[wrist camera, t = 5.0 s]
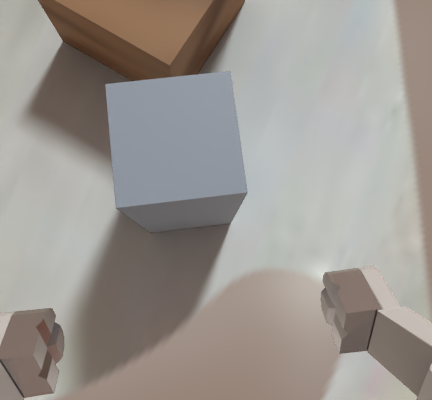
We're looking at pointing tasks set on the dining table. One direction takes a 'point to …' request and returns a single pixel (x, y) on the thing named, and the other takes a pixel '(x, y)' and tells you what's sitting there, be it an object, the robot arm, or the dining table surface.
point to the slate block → (176, 151)
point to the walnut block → (144, 32)
